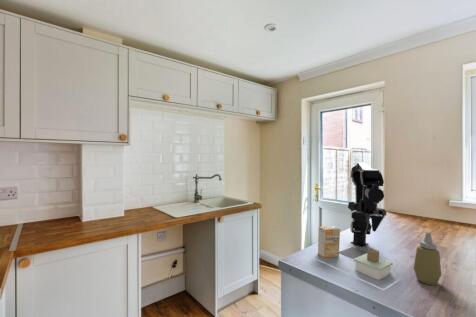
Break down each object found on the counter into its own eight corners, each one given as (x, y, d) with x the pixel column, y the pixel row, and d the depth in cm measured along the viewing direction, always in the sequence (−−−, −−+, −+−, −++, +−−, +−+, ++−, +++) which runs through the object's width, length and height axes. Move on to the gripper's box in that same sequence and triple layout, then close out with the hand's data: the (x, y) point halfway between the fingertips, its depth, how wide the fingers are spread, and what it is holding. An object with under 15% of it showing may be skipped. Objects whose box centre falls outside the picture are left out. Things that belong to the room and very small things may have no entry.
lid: (366, 255, 101) (367, 243, 100) (392, 264, 92) (393, 252, 92) (353, 260, 95) (353, 248, 95) (380, 271, 87) (380, 258, 87)
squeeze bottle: (428, 275, 92) (429, 229, 92) (447, 287, 84) (449, 236, 84) (407, 275, 92) (409, 229, 92) (424, 287, 84) (426, 236, 84)
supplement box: (323, 259, 105) (324, 229, 105) (317, 254, 110) (318, 226, 110) (339, 257, 107) (340, 228, 107) (332, 252, 112) (333, 225, 112)
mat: (352, 247, 119) (352, 246, 119) (379, 257, 108) (379, 256, 108) (336, 253, 111) (336, 252, 111) (364, 264, 101) (364, 263, 101)
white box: (367, 265, 100) (367, 255, 100) (390, 274, 92) (390, 264, 92) (355, 270, 95) (355, 261, 95) (379, 281, 87) (379, 270, 87)
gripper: (362, 193, 116) (361, 225, 117) (340, 196, 106) (339, 231, 106) (387, 197, 107) (386, 231, 107) (365, 201, 97) (364, 239, 97)
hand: (368, 233), depth 105 cm, fingers open, 9 cm apart
